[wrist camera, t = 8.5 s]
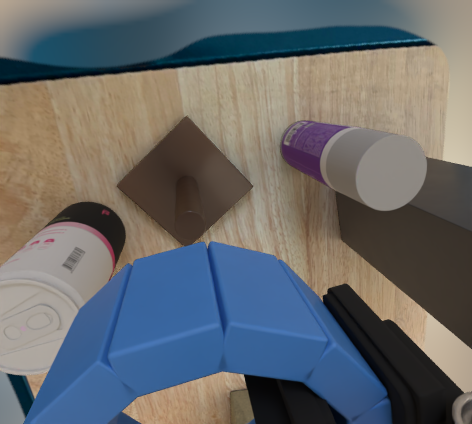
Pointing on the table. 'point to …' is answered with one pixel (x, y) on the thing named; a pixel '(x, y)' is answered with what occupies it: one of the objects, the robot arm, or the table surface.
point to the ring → (203, 338)
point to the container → (357, 161)
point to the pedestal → (422, 243)
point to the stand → (185, 183)
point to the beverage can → (54, 284)
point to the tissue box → (241, 407)
